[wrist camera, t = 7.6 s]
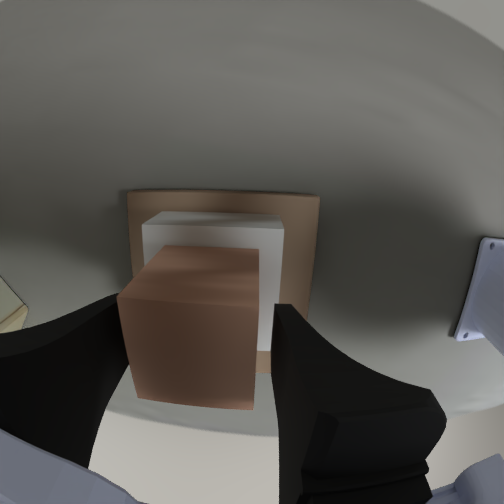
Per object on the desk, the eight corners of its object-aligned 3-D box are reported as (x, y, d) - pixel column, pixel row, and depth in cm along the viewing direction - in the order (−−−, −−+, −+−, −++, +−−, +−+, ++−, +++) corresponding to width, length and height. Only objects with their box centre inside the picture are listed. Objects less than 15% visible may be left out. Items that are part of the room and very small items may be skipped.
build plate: (316, 195, 16) (334, 207, 12) (297, 363, 19) (303, 406, 15) (133, 190, 16) (100, 201, 12) (150, 354, 19) (131, 392, 16)
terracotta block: (259, 249, 13) (259, 307, 8) (255, 331, 14) (253, 410, 9) (164, 245, 13) (116, 296, 8) (170, 325, 14) (137, 397, 9)
